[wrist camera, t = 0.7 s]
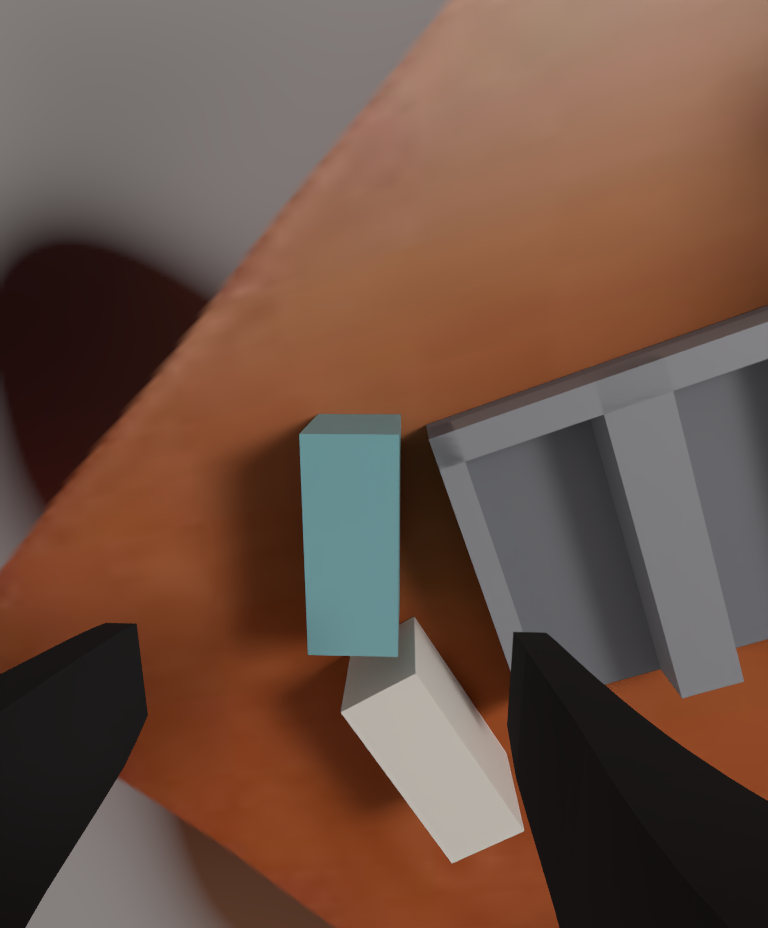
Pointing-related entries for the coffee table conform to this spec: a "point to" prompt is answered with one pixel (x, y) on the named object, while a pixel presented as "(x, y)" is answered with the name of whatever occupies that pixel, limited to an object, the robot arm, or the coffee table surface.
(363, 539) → the tall teal prism
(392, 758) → the tall white block
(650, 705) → the coffee table surface
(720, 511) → the grey two-slot rack
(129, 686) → the robot arm
